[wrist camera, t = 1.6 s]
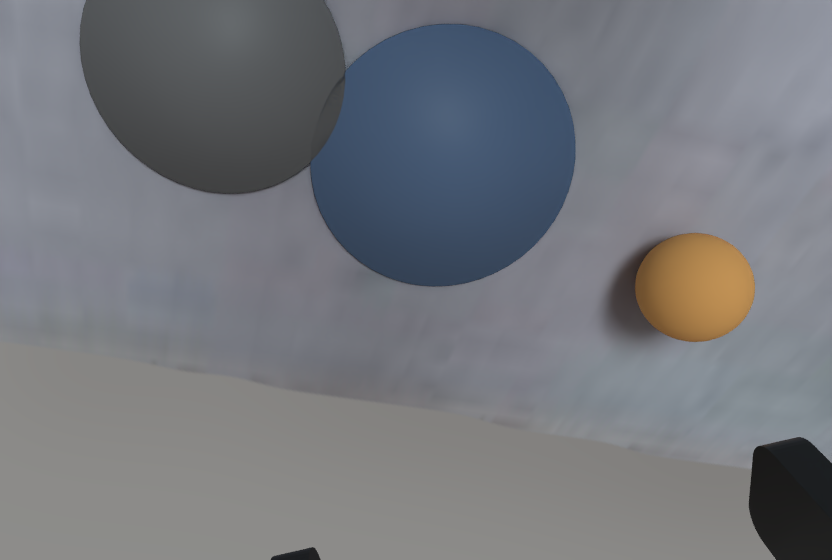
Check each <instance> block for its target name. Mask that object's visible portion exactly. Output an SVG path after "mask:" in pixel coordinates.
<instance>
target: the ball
mask: <svg viewBox="0 0 832 560" xmlns="http://www.w3.org/2000/svg"><path fill="white" fill-rule="evenodd" d="M635 293H636V298H637V302H638V305H639V307H640V310H641V312H642V313H643V315H644V316H645V318H646V319H647V320H648V321H649V322H650V324H651V325H653V326H654V327H655V328H656V329H657V330H659V331H660V332H662V333H664V334H665V335H667V336H670V337H672V338H675V339H678V340H683V341H689V342H701V341H708V340H712V339H716V338H718V337H721V336H723V335H725V334H727V333H729V332H730V331H732V330H733V329H735V328H736V327H737V326H738V325H739V324H740V323H741V322H742V321H743V320H744V318H745V317H746V315H747V314H748V312H749V310H750V308H751V306H752V303H753V300H754V293H755V282H754V276H753V273H752V270H751V268H750V266H749V264H748V262H747V260H746V259H745V257H744V256H743V255H742V254H741V252H740V251H738V250H737V249H736V248H735V247H734V246H733V245H731V244H730V243H728V242H726V241H725V240H723V239H720V238H718V237H715V236H712V235H708V234H700V233H689V234H681V235H677V236H674V237H671V238H669V239H667V240H665V241H663V242H661V243H660V244H658V245H657V246H655V247H654V248H653V249H652V250H651V251H650V252H649V253H648V254H647V255H646V257H645V258H644V260H643V261H642V263H641V265H640V267H639V269H638V272H637V276H636V282H635Z"/></svg>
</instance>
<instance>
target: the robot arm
mask: <svg viewBox="0 0 832 560" xmlns="http://www.w3.org/2000/svg"><path fill="white" fill-rule="evenodd" d="M749 510H750V515H751V518H752V521H753V524H754V526H755V529H756V531H757V533H758V534H759V536H760V538H761V539H762V541H763V542H764V544H765V545H766V546H767V548H768V549H769V550H770V552H771V553H772V555H773V556H774V557H775V559H776V560H832V463H831V462H830V461H829V460H828V459H827V458H826V457H825V456H824V455H823V454H822V453H821V452H820V451H819V450H818V449H817V448H816V447H815V446H814V445H813V444H812V443H811V442H809V441H808V440H806V439H804V438H801V437H796V438H792V439H788V440H783V441H779V442H775V443H770V444H766V445H762V446H758V447H756V448H755V450H754V453H753V462H752V475H751V485H750V496H749ZM271 560H320V558H319V555H318V553H317V551H316V549H315V548H313V547H312V548H307V549H303V550H299V551H295V552H290V553H286V554H281V555H277V556H274V557H272V558H271Z"/></svg>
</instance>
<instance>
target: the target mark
mask: <svg viewBox="0 0 832 560" xmlns="http://www.w3.org/2000/svg"><path fill="white" fill-rule="evenodd" d="M344 76H345V77H344ZM344 76H343V77H342V79H344V78H345V90H344V99H343V102H342V104H341V105H342V107H341V112H340V115H339V114H338V115H339V118H338V119H337V123H336V126H334V127H335V128H334V130H333V132H332V134H331V135H330V137H329V136H328V137H329V139H328V141H327V143H324V142H322V143H323V144H325V145H323V144H321V145H323V146H324V147H323V146H322V147H323V148H322V147H321V151H320V152H317V153H318V155H317V154H316V155H317V156H316V157H315V158H314V159H313V160H312V161H311V162H310V164H311V179H312V184H313V189H314V194H315V197H316V200H317V203H318V206H319V209H320V212H321V214H322V216H323V218H324V220H325V222H326V223H327V225H328V227H329V228H330V230H331V231H332V233H333V234H334V236H335V237H336V239H337V240H338V241H339V242H340V243H341V244H342V245H343V247H344V248H345V249H346V250H347V251H348V252H349V253H350V254H352V255H353V256H354V257H355V258H356V259H358V260H359V261H360V262H361V263H363V264H365V265H366V266H368V267H369V268H371V269H372V270H374V271H376V272H378V273H380V274H382V275H384V276H386V277H389V278H392V279H395V280H398V281H401V282H405V283H410V284H415V285H424V286H450V285H457V284H463V283H467V282H471V281H475V280H478V279H481V278H484V277H486V276H489V275H491V274H494V273H496V272H498V271H499V270H501V269H503V268H505V267H507V266H509V265H510V264H512V263H513V262H514V261H516V260H517V259H519V258H520V257H522V256H523V255H524V254H525V253H526V252H527V251H529V250H530V249H531V248H532V247H533V246H534V245H535V244H536V243H537V242H538V241H539V240H540V239H541V237H542V236H543V235H544V234H545V233H546V231H547V230H548V229H549V227H550V226H551V225H552V223H553V222H554V220H555V218H556V217H557V215H558V213H559V211H560V209H561V208H562V206H563V203H564V201H565V198H566V196H567V193H568V191H569V187H570V184H571V180H572V176H573V170H574V163H575V134H574V126H573V121H572V118H571V114H570V110H569V107H568V104H567V102H566V100H565V97H564V95H563V92H562V91H561V89H560V87H559V86H558V84H557V82H556V81H555V79H554V77H553V76H552V75H551V73H550V72H549V71H548V70H547V69H546V67H545V66H544V65H543V64H542V63H541V62H540V61H539V60H538V59H537V58H536V57H535V56H534V55H533V54H532V53H531V52H529V51H528V50H527V49H525V48H524V47H522V46H521V45H519V44H518V43H516V42H515V41H513V40H511V39H509V38H507V37H505V36H503V35H501V34H498V33H496V32H493V31H490V30H486V29H483V28H480V27H475V26H468V25H462V24H438V25H430V26H422V27H419V28H415V29H411V30H408V31H404V32H402V33H399V34H397V35H395V36H393V37H390V38H388V39H386V40H384V41H382V42H381V43H379V44H377V45H376V46H374V47H373V48H371V49H369V50H368V51H367V52H366V53H364V54H363V55H362V56H361V57H360V58H358V59H357V60H356V61H355V62H354V63H353V64H352V65H351V66H350V67H349V68H348V69H347V70H346V71H345V75H344ZM342 82H344V81H343V80H342ZM342 82H341V83H342ZM336 84H338V85H339V82H337V83H336ZM343 84H344V83H343ZM338 85H337V86H338ZM340 87H341V86H340ZM340 87H339V88H340ZM333 88H336V87H333ZM339 88H338V87H337V89H339ZM337 89H335V93H336V90H337ZM332 90H333V89H332ZM338 91H340V90H338ZM332 92H333V91H332ZM337 93H338V92H337ZM339 93H340V92H339ZM329 94H330V93H329ZM331 94H332V93H331ZM334 95H336V94H334ZM334 95H333V96H334ZM338 96H339V95H338ZM329 97H330V96H329ZM329 97H327V99H328V98H329ZM334 97H335V96H334ZM339 97H340V96H339ZM331 98H332V97H331ZM336 98H337V95H336ZM336 98H335V99H336ZM340 98H341V97H340ZM327 99H326V100H327ZM337 99H338V98H337ZM333 101H334V100H333ZM338 101H339V100H338ZM328 103H329V102H328ZM325 104H326V103H325ZM329 104H330V103H329ZM331 105H332V104H331ZM337 105H338V104H337ZM341 105H340V104H339V106H341ZM323 106H324V105H323ZM339 106H337V107H339ZM329 107H330V106H329ZM335 107H336V106H335ZM323 109H325V107H323ZM334 110H336V109H334ZM334 110H333V112H334ZM323 111H324V110H323ZM327 111H328V110H327ZM330 111H331V110H330ZM321 112H322V111H321ZM331 112H332V111H331ZM322 113H323V112H322ZM324 113H325V112H324ZM325 114H326V113H325ZM327 114H328V113H327ZM329 114H330V113H329ZM332 115H333V114H332ZM332 115H331V116H332ZM335 116H337V115H335ZM319 118H321V117H319ZM324 119H325V118H324ZM332 119H333V118H332ZM319 121H321V120H319ZM326 122H327V121H326ZM317 123H318V122H317ZM326 124H327V123H326ZM316 125H318V124H316ZM322 125H323V123H322ZM318 126H319V125H318ZM318 126H316V127H318ZM320 126H321V124H320ZM327 126H328V125H327ZM332 128H333V126H332ZM323 130H324V129H323ZM325 130H327V129H326V127H325ZM319 131H320V130H319ZM316 132H317V131H316ZM329 133H330V132H329ZM316 134H317V133H316ZM319 135H321V134H319ZM324 136H326V135H324ZM324 136H322V137H324ZM313 137H314V136H313ZM318 137H319V136H318ZM320 138H321V137H320ZM320 138H319V139H320ZM324 138H325V137H324ZM324 138H323V139H324ZM313 139H314V138H313ZM324 140H325V139H324ZM326 140H327V139H326ZM312 141H313V140H312ZM320 142H321V141H320ZM325 142H326V141H325ZM314 143H315V142H314ZM317 143H318V142H316V145H317ZM318 145H319V144H318ZM312 146H314V145H312ZM319 147H320V146H319ZM319 147H317V146H316V148H318V149H319ZM314 148H315V147H314ZM315 152H316V151H315ZM311 153H312V151H311ZM313 155H314V156H315V154H313ZM314 156H313V157H314ZM311 159H312V158H311ZM311 159H310V160H311Z"/></svg>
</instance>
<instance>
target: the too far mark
mask: <svg viewBox="0 0 832 560" xmlns="http://www.w3.org/2000/svg"><path fill="white" fill-rule="evenodd" d="M80 53H81V62H82V67H83V72H84V76H85V80H86V83H87V86H88V89H89V91H90V94H91V97H92V99H93V101H94V103H95V105H96V107H97V109H98V111H99V113H100V115H101V116H102V118H103V119H104V121H105V123H106V124H107V126H108V127H109V129H110V130H111V131H112V132H113V134H114V135H115V136H116V137H117V138H118V140H119V141H120V142H121V143H122V144H123V145H124V146H125V147H126V148H127V149H128V150H129V151H130V152H131V153H132V154H133V155H134V156H135V157H137V158H138V159H139V160H140V161H142V162H143V163H144V164H146V165H147V166H148V167H150V168H151V169H153V170H155V171H156V172H158V173H159V174H161V175H163V176H165V177H167V178H169V179H171V180H173V181H175V182H177V183H180V184H183V185H186V186H189V187H192V188H196V189H200V190H204V191H209V192H218V193H243V192H250V191H256V190H260V189H264V188H267V187H271V186H273V185H275V184H278V183H280V182H283V181H285V180H286V179H288V178H290V177H291V176H293V175H295V174H296V173H298V172H299V171H300V170H302V169H303V168H304V167H305V166H307V165H308V164H309V163H310V162H311V161H312V160H313V159H314V158H315V157H316V156H317V155H318V153H317V152H320V151H321V147H322V146H323V145H325V144H323V143H322V142H324V143H327V141H328V139H329V137H330V135H331V134H332V132H333V130H334V128H335V127H334V126H336V123H337V119H338V118H339V115H340V112H341V107H342V105H341V104H342V102H343V99H344V90H345V78H344V79H342V77H343V76H344V75H345V61H344V54H343V48H342V43H341V40H340V36H339V33H338V29H337V27H336V24H335V22H334V20H333V17H332V15H331V12H330V10H329V9H328V7H327V5H326V3H325V2H324V0H86V3H85V5H84V9H83V14H82V20H81V25H80ZM344 77H345V76H344ZM342 80H343V81H344V82H342ZM337 82H339V85H338V84H336V83H337ZM341 82H342V83H341ZM343 83H344V84H343ZM337 85H338V86H337ZM340 86H341V87H340ZM333 87H336V88H333ZM337 87H338V88H339V87H340V88H339V89H337ZM332 89H333V90H332ZM335 89H337V90H336V93H335ZM338 90H340V91H338ZM332 91H333V92H332ZM337 92H338V93H337ZM339 92H340V93H339ZM329 93H330V94H329ZM331 93H332V94H331ZM334 94H336V95H337V98H338V99H337V98H336V95H334ZM333 95H334V96H335V97H334V96H333ZM338 95H339V96H340V97H341V98H340V97H339V96H338ZM329 96H330V97H329ZM327 97H329V98H328V99H327ZM331 97H332V98H331ZM335 98H336V99H335ZM326 99H327V100H326ZM333 100H334V101H333ZM338 100H339V101H338ZM328 102H329V103H330V104H329V103H328ZM325 103H326V104H325ZM331 104H332V105H331ZM337 104H338V105H337ZM339 104H340V105H341V106H339ZM323 105H324V106H323ZM329 106H330V107H329ZM335 106H336V107H335ZM337 106H339V107H337ZM323 107H325V109H323ZM334 109H336V110H334ZM323 110H324V111H323ZM327 110H328V111H327ZM330 110H331V111H332V112H331V111H330ZM333 110H334V112H333ZM321 111H322V112H323V113H322V112H321ZM324 112H325V113H326V114H325V113H324ZM327 113H328V114H327ZM329 113H330V114H329ZM332 114H333V115H332ZM338 114H339V115H338ZM331 115H332V116H331ZM335 115H337V116H335ZM319 117H321V118H319ZM324 118H325V119H324ZM332 118H333V119H332ZM319 120H321V121H319ZM326 121H327V122H326ZM317 122H318V123H317ZM322 123H323V125H322ZM326 123H327V124H326ZM316 124H318V125H319V126H318V125H316ZM320 124H321V126H320ZM327 125H328V126H327ZM316 126H318V127H316ZM332 126H333V128H332ZM325 127H326V129H327V130H325ZM323 129H324V130H323ZM319 130H320V131H319ZM316 131H317V132H316ZM329 132H330V133H329ZM316 133H317V134H316ZM319 134H321V135H319ZM324 135H326V136H324ZM313 136H314V137H313ZM318 136H319V137H318ZM322 136H324V137H325V138H324V137H322ZM328 136H329V137H328ZM320 137H321V138H320ZM313 138H314V139H313ZM319 138H320V139H319ZM323 138H324V139H325V140H324V139H323ZM326 139H327V140H326ZM312 140H313V141H312ZM320 141H321V142H320ZM325 141H326V142H325ZM314 142H315V143H314ZM316 142H318V143H317V145H316ZM318 144H319V145H318ZM321 144H323V145H321ZM312 145H314V146H312ZM316 146H317V147H319V146H320V147H319V149H318V148H316ZM314 147H315V148H314ZM323 147H324V146H323ZM323 147H322V148H323ZM311 151H312V153H311ZM315 151H316V152H315ZM313 154H315V156H314V155H313ZM316 154H317V155H316ZM313 156H314V157H313ZM311 158H312V159H311ZM310 159H311V160H310Z"/></svg>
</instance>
